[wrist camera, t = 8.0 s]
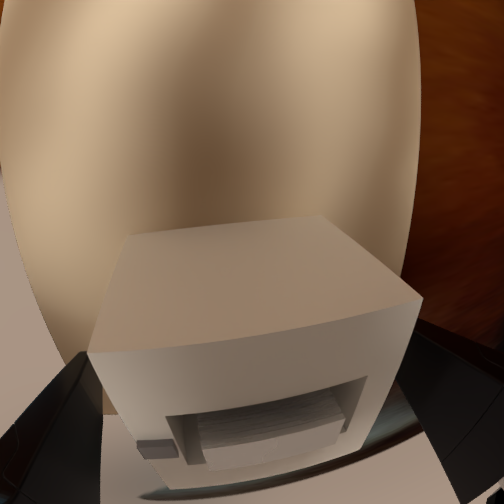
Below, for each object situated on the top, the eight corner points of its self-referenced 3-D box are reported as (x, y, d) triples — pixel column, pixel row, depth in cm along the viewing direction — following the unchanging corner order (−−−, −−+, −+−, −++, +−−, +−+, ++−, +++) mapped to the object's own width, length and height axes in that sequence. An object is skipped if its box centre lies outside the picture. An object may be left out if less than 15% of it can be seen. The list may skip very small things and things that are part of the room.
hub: (321, 215, 10) (429, 303, 5) (308, 353, 12) (362, 454, 8) (127, 235, 8) (84, 361, 4) (163, 376, 11) (170, 494, 6)
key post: (274, 287, 10) (345, 418, 5) (273, 315, 11) (335, 444, 6) (185, 299, 10) (201, 449, 5) (190, 327, 10) (209, 471, 5)
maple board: (379, -60, 6) (398, -71, 5) (360, 352, 15) (373, 370, 14) (39, -59, 4) (27, -74, 2) (98, 391, 13) (94, 414, 11)
